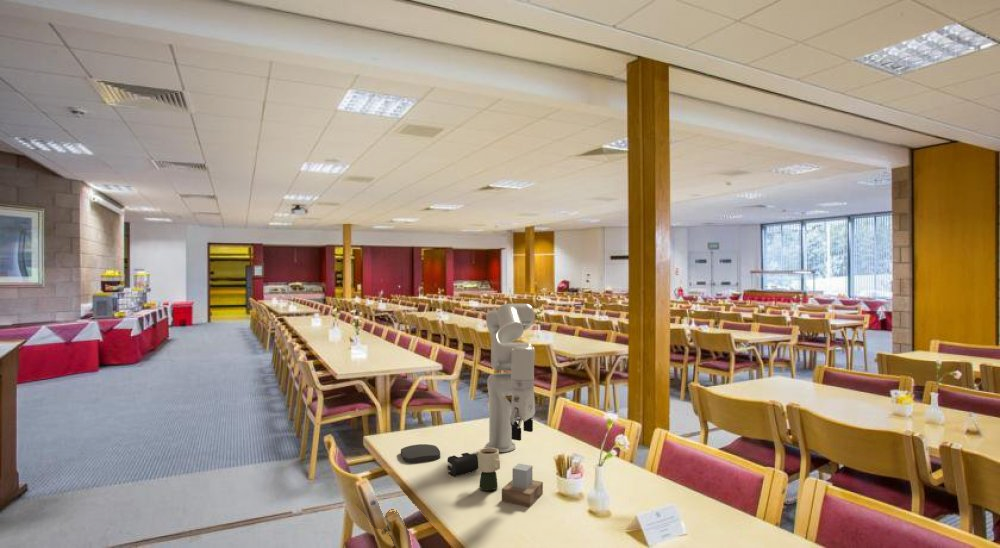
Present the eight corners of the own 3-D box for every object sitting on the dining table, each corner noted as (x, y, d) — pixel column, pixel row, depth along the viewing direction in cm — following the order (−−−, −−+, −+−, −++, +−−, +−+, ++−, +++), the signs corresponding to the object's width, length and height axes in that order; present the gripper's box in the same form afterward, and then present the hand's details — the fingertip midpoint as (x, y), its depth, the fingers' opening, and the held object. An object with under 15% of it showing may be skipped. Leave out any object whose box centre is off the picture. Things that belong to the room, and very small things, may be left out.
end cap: (456, 480, 189) (456, 461, 189) (446, 474, 195) (446, 455, 195) (479, 473, 195) (479, 455, 195) (469, 468, 200) (469, 450, 200)
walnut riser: (515, 488, 181) (515, 476, 181) (542, 493, 177) (542, 482, 177) (501, 501, 171) (501, 488, 171) (530, 507, 167) (530, 494, 167)
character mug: (507, 490, 179) (507, 452, 179) (491, 496, 175) (491, 457, 175) (485, 481, 187) (485, 444, 187) (470, 486, 183) (470, 449, 183)
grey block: (532, 483, 175) (532, 465, 175) (526, 489, 171) (526, 470, 171) (518, 481, 177) (518, 463, 177) (512, 486, 173) (512, 468, 173)
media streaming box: (442, 460, 209) (442, 452, 209) (405, 465, 204) (405, 457, 204) (433, 449, 223) (433, 441, 223) (399, 453, 218) (399, 445, 218)
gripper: (522, 390, 165) (522, 445, 165) (542, 379, 180) (542, 429, 180) (500, 388, 168) (500, 441, 168) (522, 377, 183) (522, 426, 184)
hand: (522, 435), depth 174 cm, fingers open, 9 cm apart
